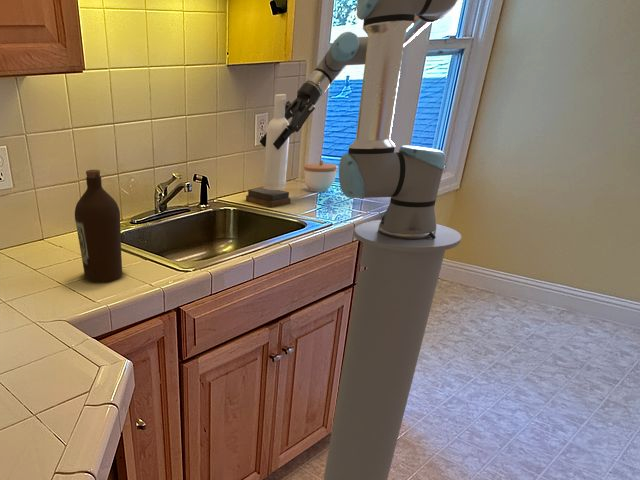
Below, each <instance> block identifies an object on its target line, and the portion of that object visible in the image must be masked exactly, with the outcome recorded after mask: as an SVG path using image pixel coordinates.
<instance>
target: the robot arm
mask: <svg viewBox="0 0 640 480" xmlns="http://www.w3.org/2000/svg"><path fill="white" fill-rule="evenodd" d="M457 2H458V0H357V1H356V17H357V18H358V19H359V20H361V21H363V24H362V30H363V31H364V33H366V35H367V36H358V35H357V34H356V33H354V32H351V31H344V32H342V33H340V34H339V35H338V36H337V38H336V39H334V41H333V42H332V43H331V45H330V47H329V49H328V50H327V51H326V53H325V54H324V56H323V58H322V59H321V60H320V62H319V63H318V64H317V66H316V67H315V68H314V70H312V72H311V73H310V74H309V75H308V77H307V78H306V79H305V81H304V83H302V84H301V86H300V87H299V89H298V90H297V92H296V98H295V99H294V100H293V101H292V102H290V100H286V105H285V119H286V120H287V121H288V120H290V119H291V120H290V122H289V125H287V128H288V129H287V128H285V129H284V131H283V132H282V133H281V134H280V136H279V137H278V138H277V139H276V141H275V142H274V143H273V145H274V146H275V147H276V148H277V150H279V149H280V147H281V146H282V145H283V143H284V142H285V141H286V140H287V139H288V137H289V138H290V136H291V135H293V134H294V133H298V132H300V130H301V129H302V127H303V125H305V123H306V121H307V120H308V118H309V117H310V115H311V114H312V113H313V112H314V111H315V109H316V107H315V106H316V104H317V103H318V102H319V100H321V98H322V96H323V95H324V94H326V91H327V90H328V89H329V87H330V86H331V85H332V84H333V82H335V80H336V79H337V78H338V76H339V75H340V74H341V72H342V71H343V70H344V69H345V68H346V67H347V66H362V65H364V70H363V75H362V76H363V77H362V85H361V93H360V94H361V95H360V100H359V101H360V102H359V109H358V116H357V117H358V118H357V126H356V135H355V140H354V141H353V142H352V143H351V144H350V145H349V146H348V151H347V153H345V154H343V155H341V157H340V158H339V159H340V160H339V161H340V162H339V164H338V180H339V182H338V183H339V187H340V191H341V192H342V193H343V194H342V195H344V196H345V197H346V198H348V199H360V200H363V199H377V198H390V200H389V205H388V206H387V208H386V210H385V213H384V214H383V215H382V217H381V219H379V220H380V221H381V222H380V224H379V228H378V232H379V233H380V234H382V235H385V236H388V237H391V238H397V239H405V240H422V239H428V238H432V239H434V238H436V237H435V233H436V224H437V219H436V211H435V205H436V201H437V197H438V193H439V189H440V185H441V180H442V176H443V171H444V170H445V161H446V155H445V153H444V152H443V151H442V150H440V149H435V148H430V147H424V146H415V145H401V146H400V148H399V149H398V152H396V151H395V149H396V145H395V143H394V142H393V141H392V140H391V134H392V127H393V121H394V114H395V108H396V100H397V93H398V87H399V79H400V75H401V74H400V73H401V68H402V61H403V60H402V59H403V55H404V51H405V46H406V45H407V44H409V43H410V42H411V41H412V40H413V39H415V37H416V36H418V35H419V34H420V33H421V32H422V31H424V29H426V28H427V27H428V26H429V25H430V24H431V23H435V22H438V21H440V20H441V19H443V18H444V17H445V16H446V15H448V13H450V12H451V11H452V9H453V8H454V7H455V6H456V4H457ZM266 136H267V131H265V133H264V134H263V136H262V138H260V140H259V143H260V144H261V146H262V147H263V148H266Z"/></svg>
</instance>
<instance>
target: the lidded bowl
mask: <svg viewBox="0 0 640 480" xmlns="http://www.w3.org/2000/svg"><path fill="white" fill-rule="evenodd" d="M338 169H339V165H338V164H335V163H329V162H327V163H326V162H324V160H319V162H313V163H307V164H305V165H304V166H303V181H304V184H305V186H306V187H307V189H308V191H310V192H317V193H321V192H327V191H328V190H329V189H330V188H331V187H332V186H333V184H334V183H335V180H336V177H337V173H338Z"/></svg>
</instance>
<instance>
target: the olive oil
mask: <svg viewBox="0 0 640 480" xmlns="http://www.w3.org/2000/svg"><path fill="white" fill-rule="evenodd" d="M85 175H86V177H85V180H86V190H85V191H84V193H83V194H82V195H81V197H80V198H79V200H78V201H77V203H76V204H75V209H74V221H75V226H76V227H75V228H76V234H77V238H78V244H79V249H80V255H81V262H82V267H83V275H84V278H85V280H86V281H89V282H91V283H111V282H114V281H117V280H118V279H121V277H122V276H123V260H122V237H121V236H122V235H121V231H122V230H121V211H120V208H119V206H118V203H117V201H116V200H115V199H114V198H113V196H111V194H109V193H108V192H107V191H106V190H105V189H104V188H103V186H102V176H101V169H89V170H88V169H87V170H86V171H85Z"/></svg>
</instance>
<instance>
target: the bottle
mask: <svg viewBox="0 0 640 480" xmlns="http://www.w3.org/2000/svg"><path fill="white" fill-rule="evenodd" d="M286 102H287V94H286V93H279V94H275V95H274V107H273V118H272V119H270V121H269V122H268V125H267V128H266V132H267V136H266V146H265V154H264V169H263V170H264V171H263V184H262V185H263V186H262V187H263V188H264V189H267V190H281V191H283V190H284V189H285V188H286V184H287V168H288V159H289V146H290V136H289V137H288V139H287V140H286V141H285V142H284V143H283V145H282V146H281V147H280V149H279V150H277V148H276V147H275V146H274V145H273V143H274V142H275V141H276V139H277V138H278V137H279V136H280V134H281V133H282V132H283V131H284V129H285V128H287V125H289V124H290V122H289V121H288V120H286V119H285V105H286ZM287 129H288V128H287Z"/></svg>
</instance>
